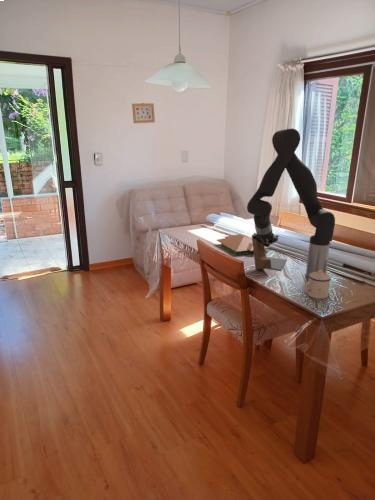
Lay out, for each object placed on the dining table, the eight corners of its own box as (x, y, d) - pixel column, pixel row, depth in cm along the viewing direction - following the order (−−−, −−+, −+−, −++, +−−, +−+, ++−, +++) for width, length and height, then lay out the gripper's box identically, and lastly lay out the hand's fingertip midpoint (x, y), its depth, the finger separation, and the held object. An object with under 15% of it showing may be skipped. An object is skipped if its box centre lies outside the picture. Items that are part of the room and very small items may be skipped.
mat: (286, 260, 205) (286, 259, 205) (281, 270, 190) (281, 269, 190) (263, 257, 210) (263, 256, 210) (256, 266, 195) (256, 266, 195)
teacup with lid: (318, 289, 167) (321, 265, 164) (333, 297, 159) (336, 272, 156) (297, 293, 163) (299, 269, 159) (311, 302, 155) (314, 276, 151)
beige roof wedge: (238, 258, 209) (239, 244, 207) (212, 242, 238) (213, 230, 236) (272, 254, 217) (273, 240, 215) (243, 239, 246) (244, 227, 244)
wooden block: (271, 268, 184) (267, 232, 185) (263, 268, 183) (259, 233, 184) (262, 268, 193) (259, 234, 193) (255, 269, 191) (251, 235, 192)
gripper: (279, 222, 173) (281, 240, 187) (251, 219, 178) (256, 237, 192) (276, 236, 170) (278, 253, 184) (248, 232, 175) (252, 250, 189)
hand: (267, 245), depth 188 cm, fingers closed
